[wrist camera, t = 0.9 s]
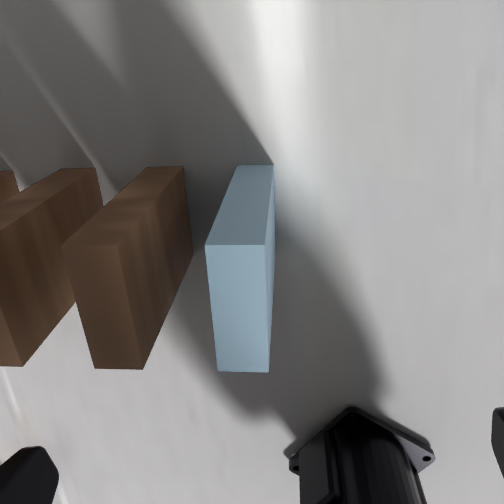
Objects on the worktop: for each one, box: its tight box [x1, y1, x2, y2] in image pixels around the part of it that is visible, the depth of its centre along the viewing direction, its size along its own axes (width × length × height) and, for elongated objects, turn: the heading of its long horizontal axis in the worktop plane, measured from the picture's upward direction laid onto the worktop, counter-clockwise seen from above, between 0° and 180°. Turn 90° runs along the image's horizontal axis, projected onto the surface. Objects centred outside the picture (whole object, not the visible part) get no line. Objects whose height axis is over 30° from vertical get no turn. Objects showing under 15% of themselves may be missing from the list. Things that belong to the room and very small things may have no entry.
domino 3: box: [205, 164, 276, 372], centre depth 16 cm, size 2×4×8 cm, turn 3°
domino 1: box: [0, 168, 104, 367], centre depth 16 cm, size 2×4×8 cm, turn 3°
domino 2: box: [61, 166, 193, 370], centre depth 16 cm, size 2×4×8 cm, turn 3°
